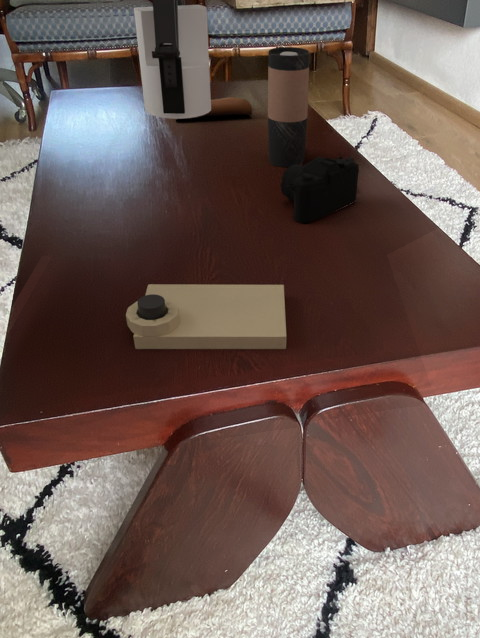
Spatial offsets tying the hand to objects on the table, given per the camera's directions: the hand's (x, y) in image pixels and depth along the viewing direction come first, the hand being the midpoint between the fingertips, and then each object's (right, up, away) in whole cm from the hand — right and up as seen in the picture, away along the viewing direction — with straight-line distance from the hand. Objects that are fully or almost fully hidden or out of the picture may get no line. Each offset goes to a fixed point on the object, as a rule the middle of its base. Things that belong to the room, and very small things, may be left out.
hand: (177, 102), depth 83 cm
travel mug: (+15, +6, +40) cm, 43 cm away
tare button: (-1, -30, -10) cm, 31 cm away
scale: (+6, -30, -5) cm, 31 cm away
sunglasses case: (-2, +25, +63) cm, 68 cm away
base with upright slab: (0, -1, +1) cm, 1 cm away
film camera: (+20, -8, +23) cm, 31 cm away
